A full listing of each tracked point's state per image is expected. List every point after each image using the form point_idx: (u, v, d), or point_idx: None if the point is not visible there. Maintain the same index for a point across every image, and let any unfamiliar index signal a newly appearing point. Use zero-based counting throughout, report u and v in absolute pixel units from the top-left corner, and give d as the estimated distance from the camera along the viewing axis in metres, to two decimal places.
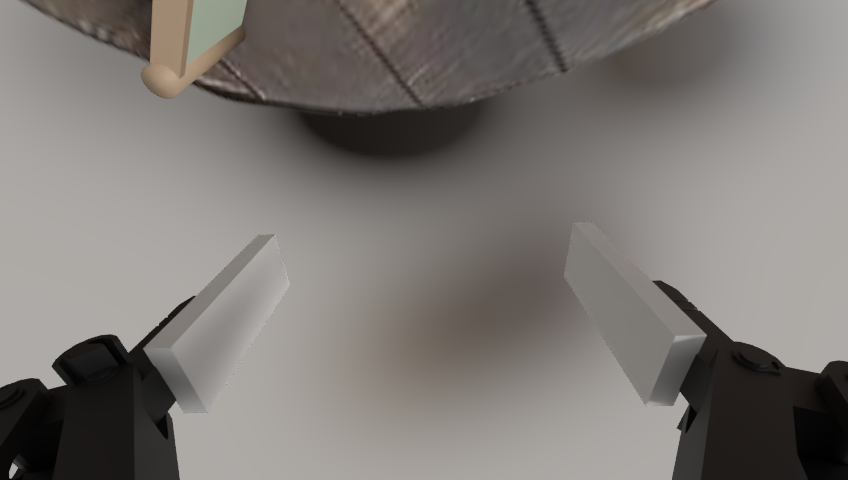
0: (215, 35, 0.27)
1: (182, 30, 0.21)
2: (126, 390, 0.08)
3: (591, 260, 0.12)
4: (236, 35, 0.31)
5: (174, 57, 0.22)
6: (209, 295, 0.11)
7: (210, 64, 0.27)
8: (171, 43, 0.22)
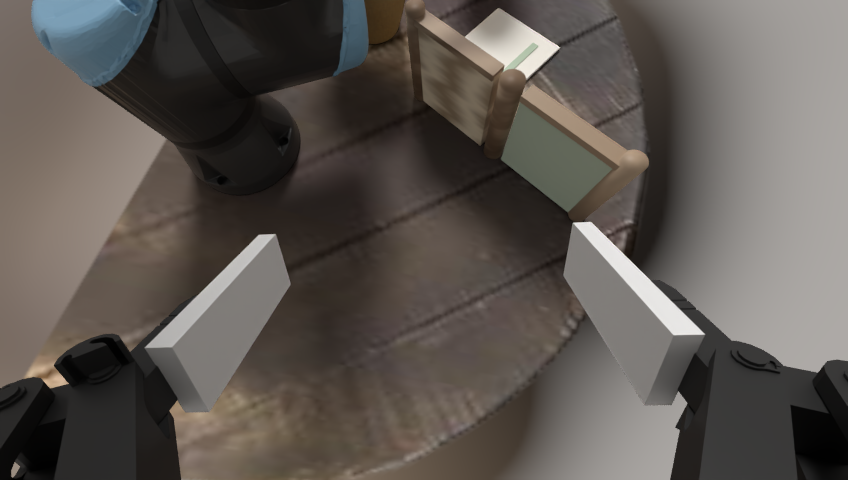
0: None
1: (597, 131, 0.30)
2: (128, 389, 0.08)
3: (590, 259, 0.12)
4: None
5: (615, 146, 0.30)
6: (210, 295, 0.11)
7: None
8: (605, 142, 0.30)
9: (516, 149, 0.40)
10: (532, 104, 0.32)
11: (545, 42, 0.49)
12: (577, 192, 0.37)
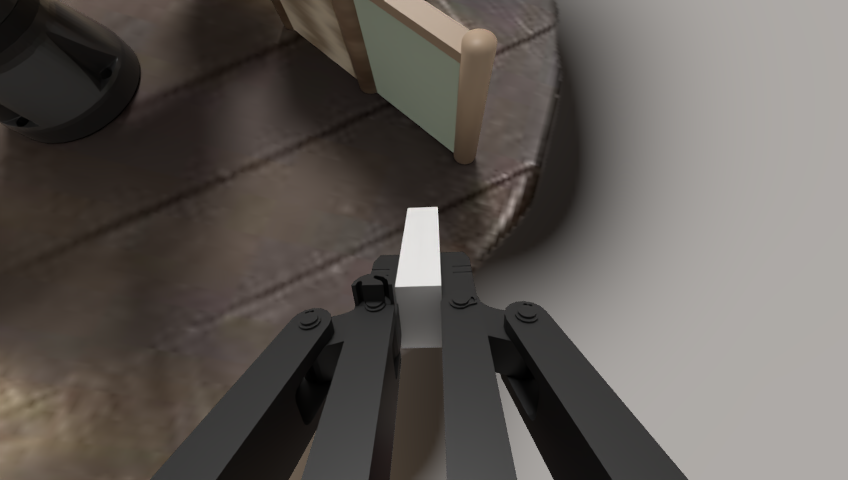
0: None
1: (438, 12, 0.22)
2: (386, 328, 0.09)
3: None
4: None
5: (458, 29, 0.21)
6: (412, 251, 0.12)
7: None
8: (446, 24, 0.22)
9: (380, 71, 0.31)
10: None
11: None
12: (448, 118, 0.28)
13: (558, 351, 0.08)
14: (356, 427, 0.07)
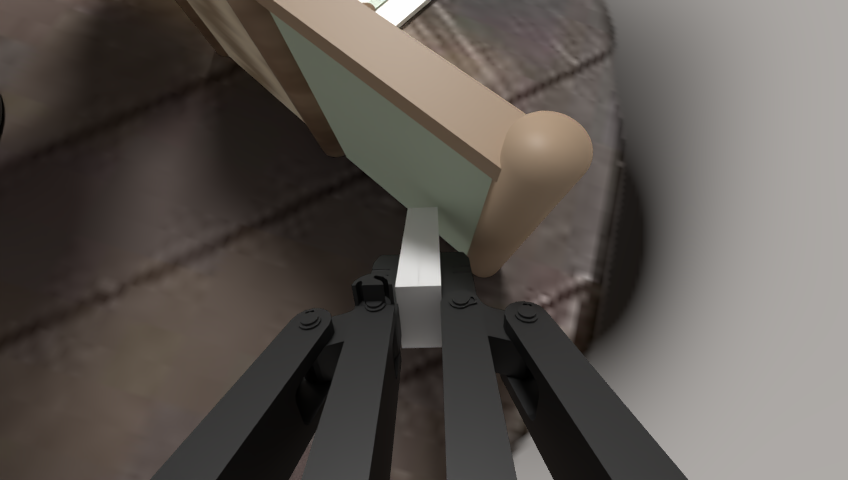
0: None
1: (443, 63, 0.10)
2: (386, 328, 0.09)
3: None
4: None
5: (491, 106, 0.09)
6: (411, 251, 0.12)
7: None
8: (463, 95, 0.10)
9: (345, 136, 0.19)
10: None
11: None
12: (460, 225, 0.16)
13: (558, 351, 0.08)
14: (356, 427, 0.07)
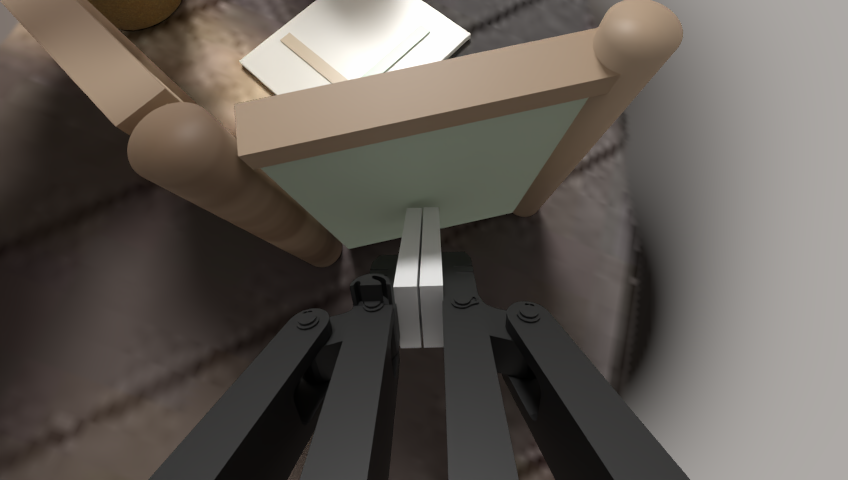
0: None
1: (488, 55, 0.10)
2: (384, 328, 0.09)
3: None
4: None
5: (557, 47, 0.10)
6: (410, 251, 0.12)
7: None
8: (532, 59, 0.10)
9: (357, 224, 0.17)
10: (288, 146, 0.09)
11: (443, 25, 0.26)
12: (517, 185, 0.17)
13: (560, 351, 0.08)
14: (354, 427, 0.07)
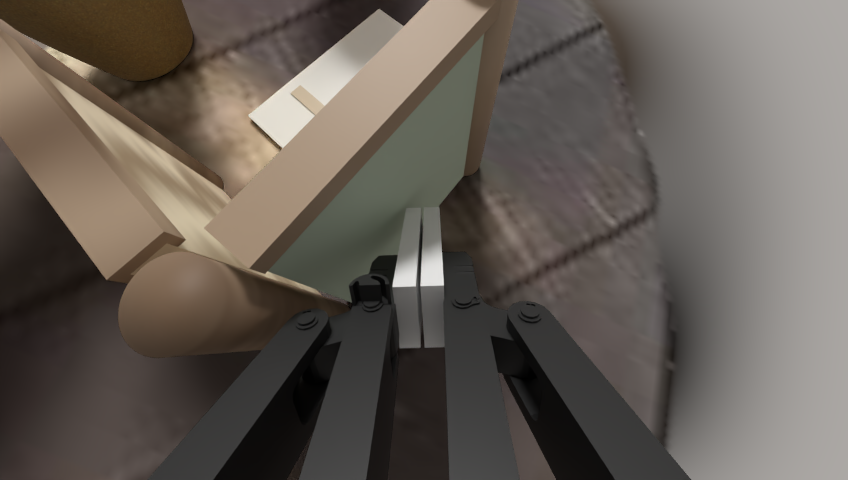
0: None
1: (393, 43, 0.10)
2: (383, 328, 0.09)
3: None
4: None
5: (440, 4, 0.11)
6: (409, 251, 0.12)
7: None
8: (430, 24, 0.10)
9: (358, 273, 0.17)
10: (288, 226, 0.09)
11: None
12: (460, 146, 0.18)
13: (561, 351, 0.08)
14: (353, 427, 0.07)
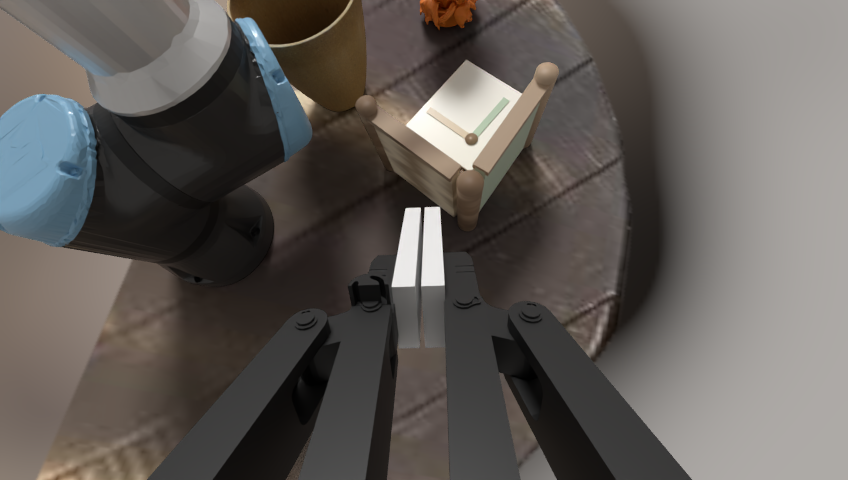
0: None
1: (516, 103, 0.33)
2: (382, 328, 0.09)
3: None
4: None
5: (530, 89, 0.33)
6: (409, 251, 0.12)
7: None
8: (528, 96, 0.33)
9: (487, 191, 0.40)
10: (496, 161, 0.31)
11: (516, 96, 0.47)
12: (526, 134, 0.40)
13: (562, 351, 0.08)
14: (353, 427, 0.07)
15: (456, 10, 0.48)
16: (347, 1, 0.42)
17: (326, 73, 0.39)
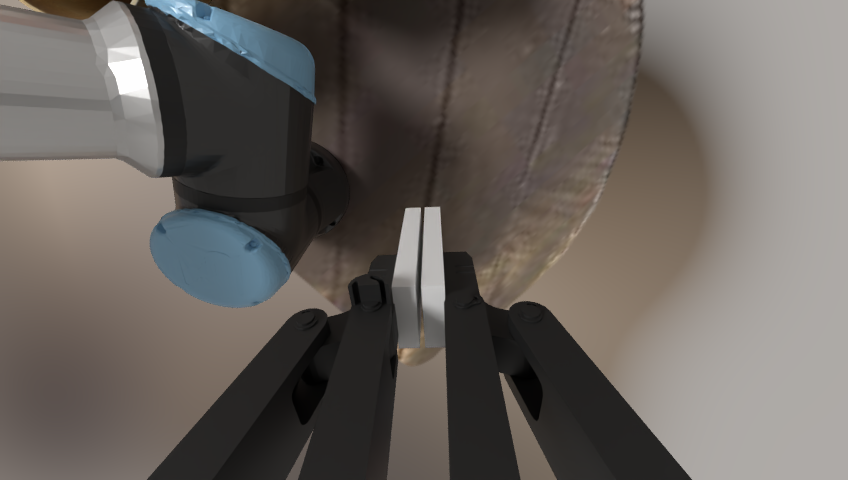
0: None
1: None
2: (382, 328, 0.09)
3: None
4: None
5: None
6: (409, 251, 0.12)
7: None
8: None
9: None
10: None
11: None
12: None
13: (562, 351, 0.08)
14: (353, 427, 0.07)
15: None
16: None
17: None
